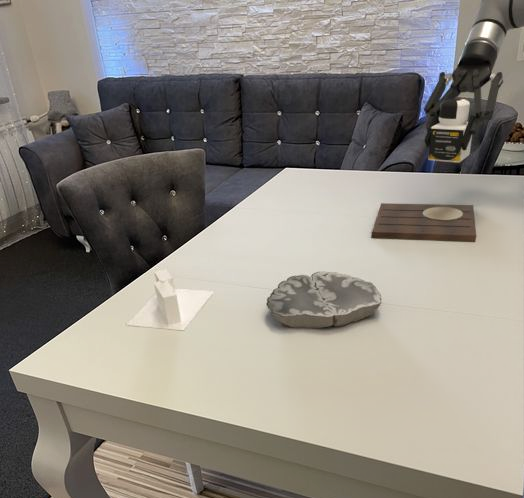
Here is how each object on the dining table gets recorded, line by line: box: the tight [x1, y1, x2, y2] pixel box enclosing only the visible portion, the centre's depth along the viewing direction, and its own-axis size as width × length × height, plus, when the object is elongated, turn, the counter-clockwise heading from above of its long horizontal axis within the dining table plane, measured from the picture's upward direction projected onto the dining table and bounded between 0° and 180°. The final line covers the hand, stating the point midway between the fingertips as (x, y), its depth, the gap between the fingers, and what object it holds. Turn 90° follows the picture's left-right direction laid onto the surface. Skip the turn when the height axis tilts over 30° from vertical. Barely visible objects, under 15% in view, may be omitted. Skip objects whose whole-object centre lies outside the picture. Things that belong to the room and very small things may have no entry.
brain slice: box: [265, 271, 382, 329], centre depth 94 cm, size 20×17×3 cm
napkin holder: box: [126, 268, 215, 331], centre depth 97 cm, size 15×11×6 cm
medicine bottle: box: [427, 98, 473, 164], centre depth 117 cm, size 7×7×12 cm
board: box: [370, 202, 477, 243], centre depth 125 cm, size 22×20×2 cm
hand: (444, 145), depth 116 cm, fingers closed on medicine bottle, 7 cm apart
